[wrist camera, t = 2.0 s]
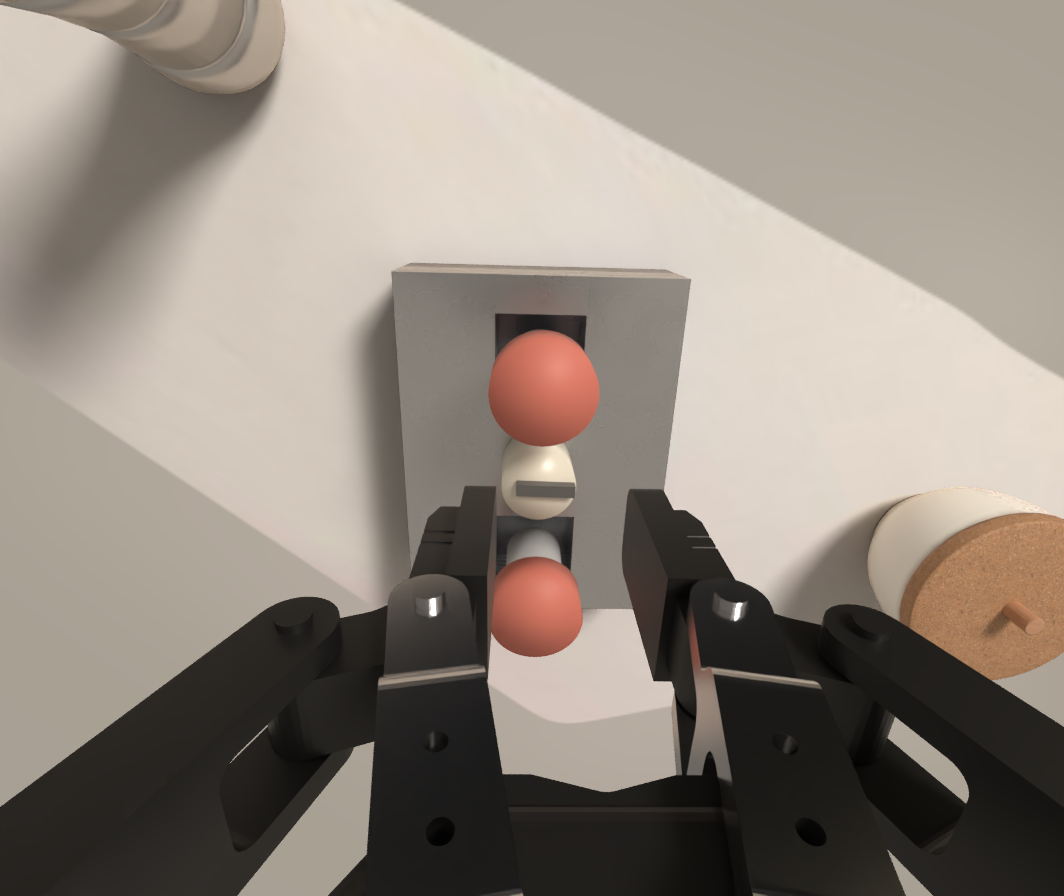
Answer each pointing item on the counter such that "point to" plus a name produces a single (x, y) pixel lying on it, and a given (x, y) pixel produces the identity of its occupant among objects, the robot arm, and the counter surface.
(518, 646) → the knob outer
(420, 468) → the panel
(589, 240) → the counter surface
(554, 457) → the dial
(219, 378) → the counter surface
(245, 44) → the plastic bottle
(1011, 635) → the lidded jar
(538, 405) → the knob inner
